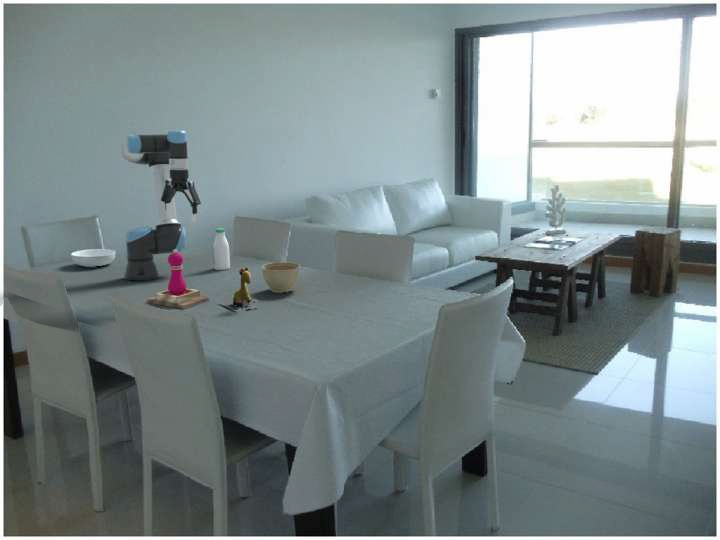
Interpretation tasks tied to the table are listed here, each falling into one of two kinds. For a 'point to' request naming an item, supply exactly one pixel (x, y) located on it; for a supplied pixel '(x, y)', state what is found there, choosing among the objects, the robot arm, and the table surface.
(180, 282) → the pepper mill
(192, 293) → the holder board
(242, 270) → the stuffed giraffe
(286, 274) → the planter bowl
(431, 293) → the table surface
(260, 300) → the table surface
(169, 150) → the robot arm
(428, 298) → the table surface
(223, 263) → the milk bottle
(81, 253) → the serving bowl
